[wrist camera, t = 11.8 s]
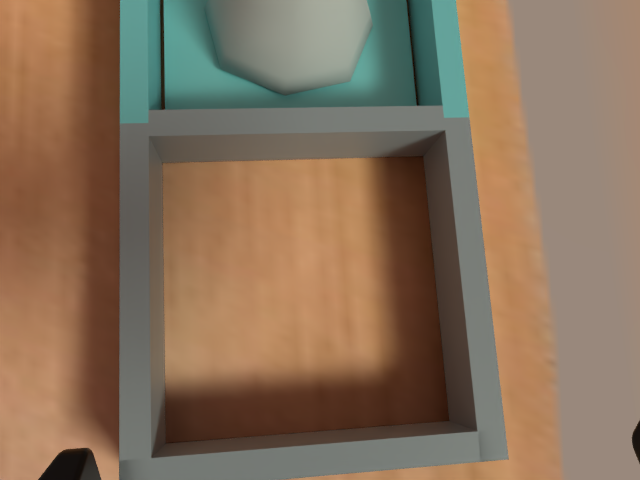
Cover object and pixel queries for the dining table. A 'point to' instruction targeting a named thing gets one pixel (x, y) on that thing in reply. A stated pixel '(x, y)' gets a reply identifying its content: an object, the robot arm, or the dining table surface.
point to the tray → (286, 144)
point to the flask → (289, 40)
